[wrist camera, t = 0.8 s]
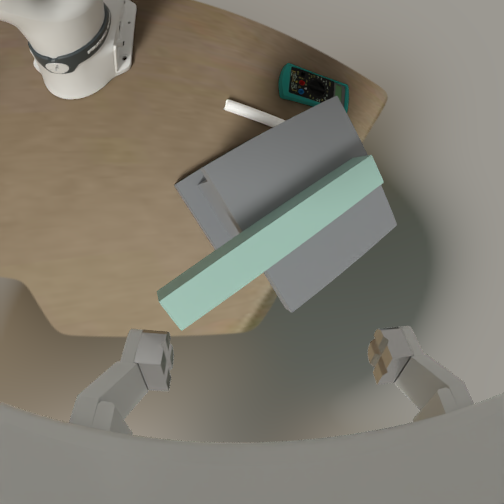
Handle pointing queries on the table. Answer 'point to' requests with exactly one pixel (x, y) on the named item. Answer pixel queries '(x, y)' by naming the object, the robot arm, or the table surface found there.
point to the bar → (267, 241)
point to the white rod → (252, 113)
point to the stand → (283, 189)
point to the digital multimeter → (310, 87)
